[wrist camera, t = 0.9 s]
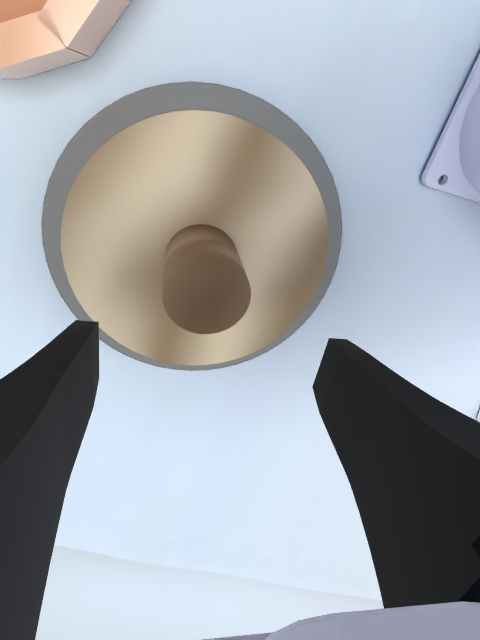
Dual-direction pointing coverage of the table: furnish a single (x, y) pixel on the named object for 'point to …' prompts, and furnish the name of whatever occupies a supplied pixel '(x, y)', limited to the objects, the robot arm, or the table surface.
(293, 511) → the table surface
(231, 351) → the lid
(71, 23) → the bowl
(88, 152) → the mat
